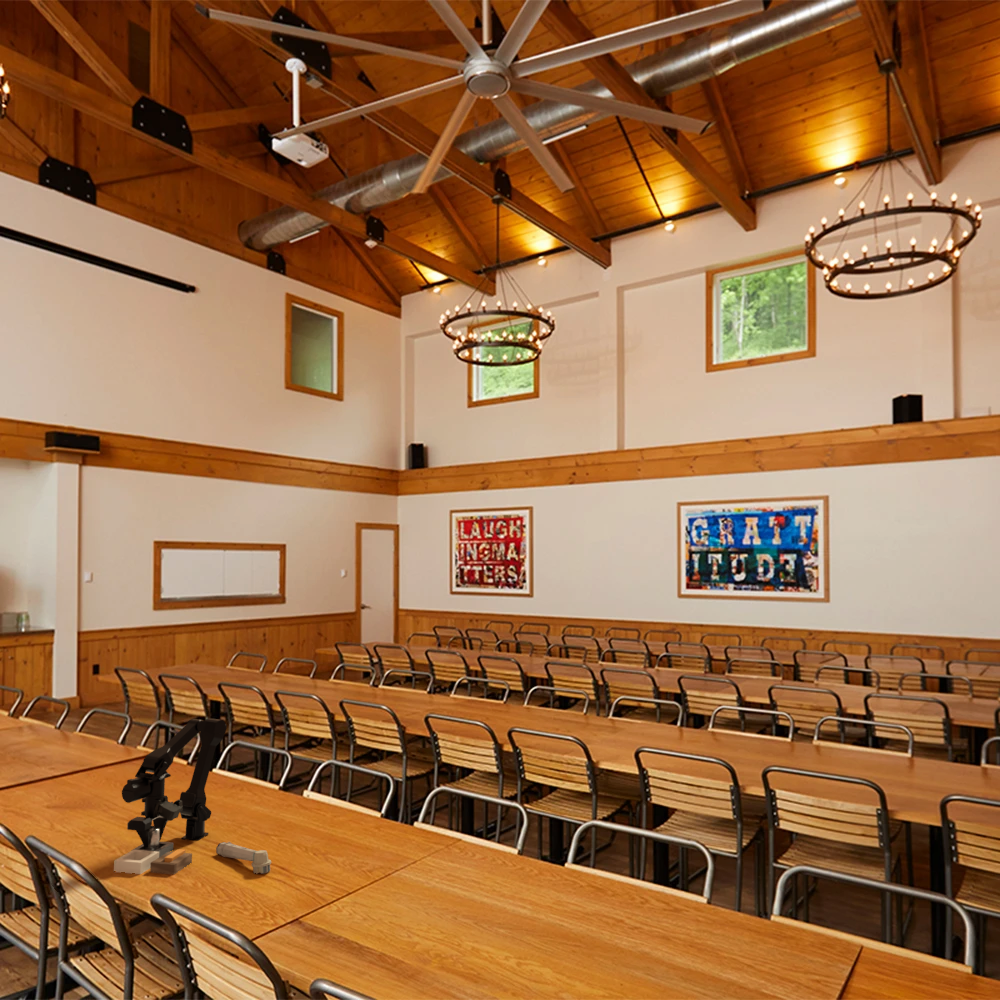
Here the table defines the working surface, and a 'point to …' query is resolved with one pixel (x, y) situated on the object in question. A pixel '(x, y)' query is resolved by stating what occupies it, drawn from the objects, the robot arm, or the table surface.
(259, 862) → the grey handle with block
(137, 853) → the frame
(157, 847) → the peg
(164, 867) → the key guide
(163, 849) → the socket block
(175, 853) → the block
